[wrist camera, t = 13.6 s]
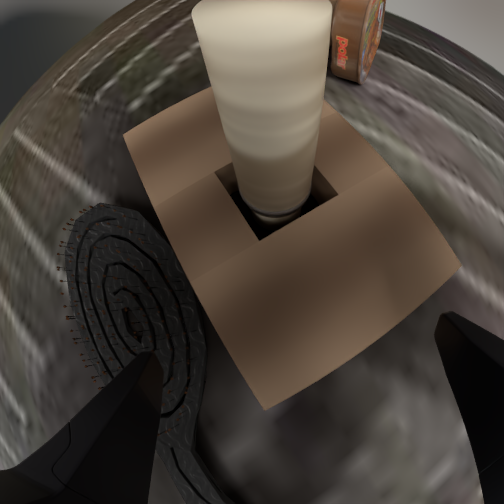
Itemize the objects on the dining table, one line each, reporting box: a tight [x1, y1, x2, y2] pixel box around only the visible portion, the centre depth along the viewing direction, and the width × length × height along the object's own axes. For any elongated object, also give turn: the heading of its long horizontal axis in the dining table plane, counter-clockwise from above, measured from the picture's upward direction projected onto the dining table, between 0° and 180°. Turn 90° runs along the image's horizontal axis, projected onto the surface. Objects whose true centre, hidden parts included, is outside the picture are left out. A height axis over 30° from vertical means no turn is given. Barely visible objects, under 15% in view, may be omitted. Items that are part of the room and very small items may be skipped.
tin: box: [330, 0, 386, 85], centre depth 17 cm, size 15×3×8 cm, turn 153°
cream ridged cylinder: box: [192, 0, 332, 231], centre depth 11 cm, size 4×4×12 cm
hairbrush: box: [57, 203, 235, 504], centre depth 13 cm, size 8×4×25 cm
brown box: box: [123, 86, 462, 411], centre depth 16 cm, size 18×12×3 cm, turn 30°
